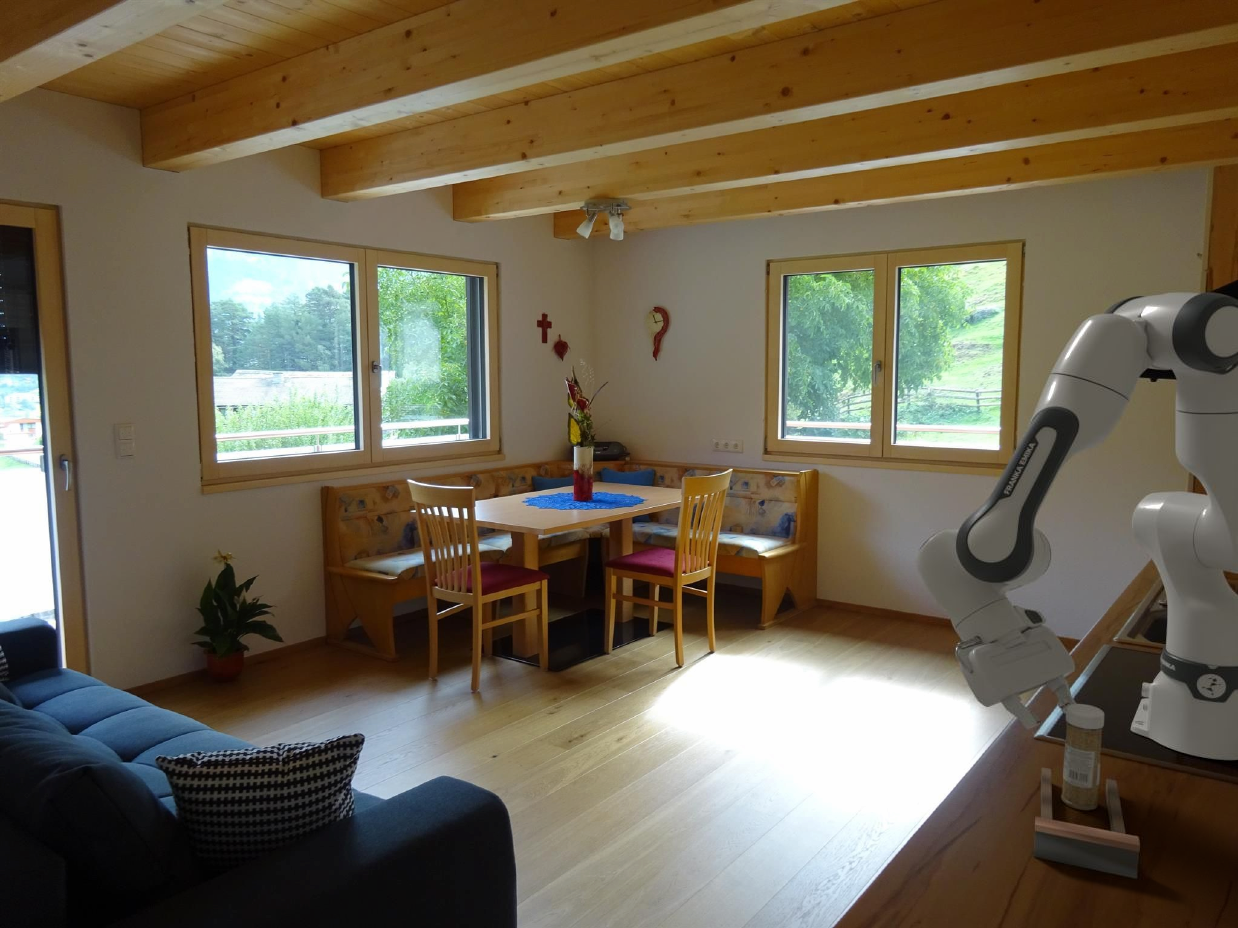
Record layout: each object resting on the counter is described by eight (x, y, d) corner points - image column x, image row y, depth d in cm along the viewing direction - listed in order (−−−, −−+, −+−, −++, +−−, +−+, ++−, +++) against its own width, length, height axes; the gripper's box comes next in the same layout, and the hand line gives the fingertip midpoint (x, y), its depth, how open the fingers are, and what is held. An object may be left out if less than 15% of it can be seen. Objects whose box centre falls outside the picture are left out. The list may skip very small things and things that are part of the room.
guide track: (1034, 779, 131) (1036, 751, 131) (1122, 795, 127) (1124, 766, 126) (1033, 856, 111) (1035, 824, 111) (1137, 878, 107) (1140, 845, 106)
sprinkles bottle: (1104, 805, 124) (1111, 710, 122) (1085, 815, 121) (1092, 718, 120) (1072, 791, 128) (1078, 699, 126) (1053, 800, 125) (1059, 706, 123)
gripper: (965, 633, 125) (1027, 725, 118) (1047, 609, 137) (1108, 692, 130) (935, 655, 129) (994, 746, 123) (1017, 630, 141) (1075, 712, 134)
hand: (1053, 718), depth 126 cm, fingers open, 8 cm apart
